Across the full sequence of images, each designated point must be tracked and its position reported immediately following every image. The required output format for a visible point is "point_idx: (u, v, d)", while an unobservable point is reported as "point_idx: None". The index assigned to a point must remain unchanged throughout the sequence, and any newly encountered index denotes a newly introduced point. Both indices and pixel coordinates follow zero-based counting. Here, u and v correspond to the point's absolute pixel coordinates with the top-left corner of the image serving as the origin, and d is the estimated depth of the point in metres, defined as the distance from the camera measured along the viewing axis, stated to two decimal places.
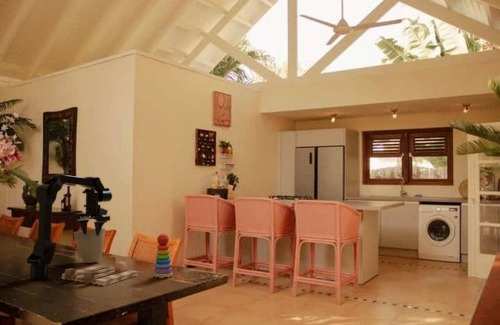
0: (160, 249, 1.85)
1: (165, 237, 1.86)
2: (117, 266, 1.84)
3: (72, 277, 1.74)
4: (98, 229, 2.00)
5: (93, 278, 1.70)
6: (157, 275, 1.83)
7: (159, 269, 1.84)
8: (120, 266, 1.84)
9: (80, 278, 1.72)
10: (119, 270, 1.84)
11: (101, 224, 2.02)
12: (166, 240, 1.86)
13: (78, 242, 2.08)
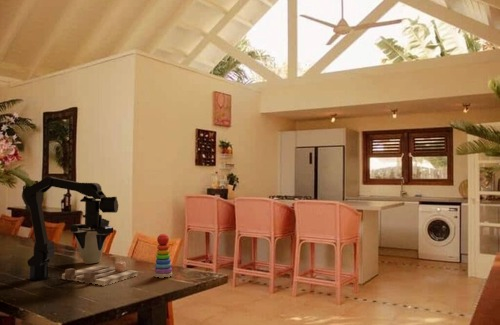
0: (160, 249, 1.85)
1: (165, 237, 1.86)
2: (117, 266, 1.84)
3: (72, 277, 1.74)
4: (100, 243, 1.76)
5: (93, 278, 1.70)
6: (157, 275, 1.83)
7: (159, 269, 1.84)
8: (120, 266, 1.84)
9: (80, 278, 1.72)
10: (119, 270, 1.84)
11: (104, 237, 1.77)
12: (166, 240, 1.86)
13: (78, 243, 2.07)
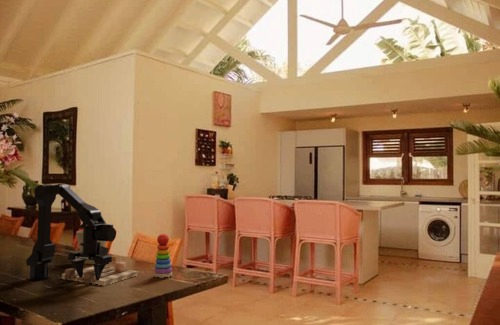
0: (160, 249, 1.85)
1: (165, 237, 1.86)
2: (116, 266, 1.84)
3: (72, 277, 1.74)
4: (98, 273, 1.67)
5: (93, 278, 1.70)
6: (157, 275, 1.83)
7: (159, 269, 1.84)
8: (120, 267, 1.84)
9: (80, 278, 1.72)
10: (119, 270, 1.84)
11: (102, 266, 1.68)
12: (166, 240, 1.86)
13: (80, 242, 2.07)
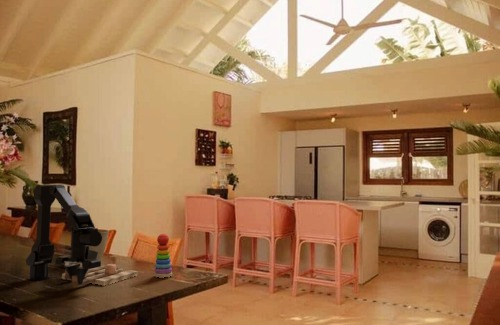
0: (160, 249, 1.85)
1: (165, 237, 1.86)
2: (107, 269, 1.79)
3: None
4: (81, 277, 1.63)
5: None
6: (157, 275, 1.83)
7: (159, 269, 1.84)
8: (110, 269, 1.79)
9: None
10: (109, 273, 1.78)
11: (85, 270, 1.64)
12: (166, 240, 1.86)
13: None
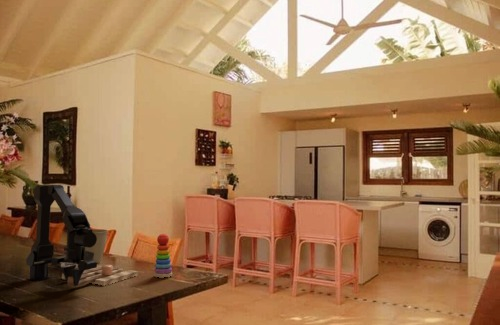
0: (160, 249, 1.85)
1: (165, 237, 1.86)
2: (103, 270, 1.77)
3: None
4: (77, 278, 1.61)
5: None
6: (157, 275, 1.83)
7: (159, 269, 1.84)
8: (107, 270, 1.77)
9: (80, 278, 1.72)
10: (105, 274, 1.77)
11: (81, 271, 1.63)
12: (166, 240, 1.86)
13: None
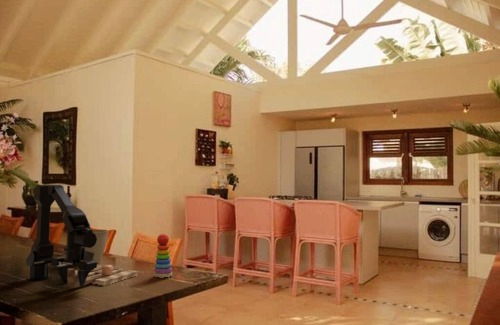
0: (160, 249, 1.85)
1: (165, 237, 1.86)
2: (103, 270, 1.77)
3: None
4: (82, 279, 1.60)
5: (77, 283, 1.63)
6: (157, 275, 1.83)
7: (159, 269, 1.84)
8: (107, 270, 1.77)
9: None
10: (105, 274, 1.77)
11: (86, 272, 1.61)
12: (166, 240, 1.86)
13: None
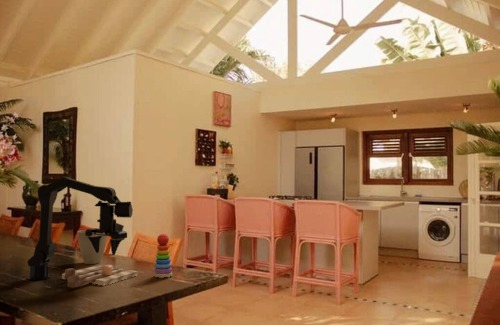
0: (160, 249, 1.85)
1: (165, 237, 1.86)
2: (103, 270, 1.77)
3: None
4: (114, 248, 1.76)
5: (77, 283, 1.63)
6: (157, 275, 1.83)
7: (159, 269, 1.84)
8: (107, 270, 1.77)
9: (80, 278, 1.72)
10: (105, 274, 1.77)
11: (118, 242, 1.77)
12: (166, 240, 1.86)
13: (80, 242, 2.07)
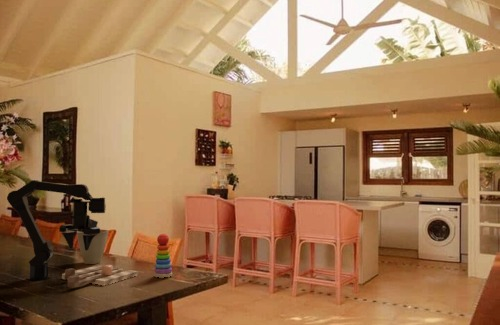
0: (160, 249, 1.85)
1: (165, 237, 1.86)
2: (103, 270, 1.77)
3: None
4: (87, 243, 1.79)
5: (77, 283, 1.63)
6: (157, 275, 1.83)
7: (159, 269, 1.84)
8: (107, 270, 1.77)
9: (80, 278, 1.72)
10: (105, 274, 1.77)
11: (91, 237, 1.80)
12: (166, 240, 1.86)
13: (80, 242, 2.07)
